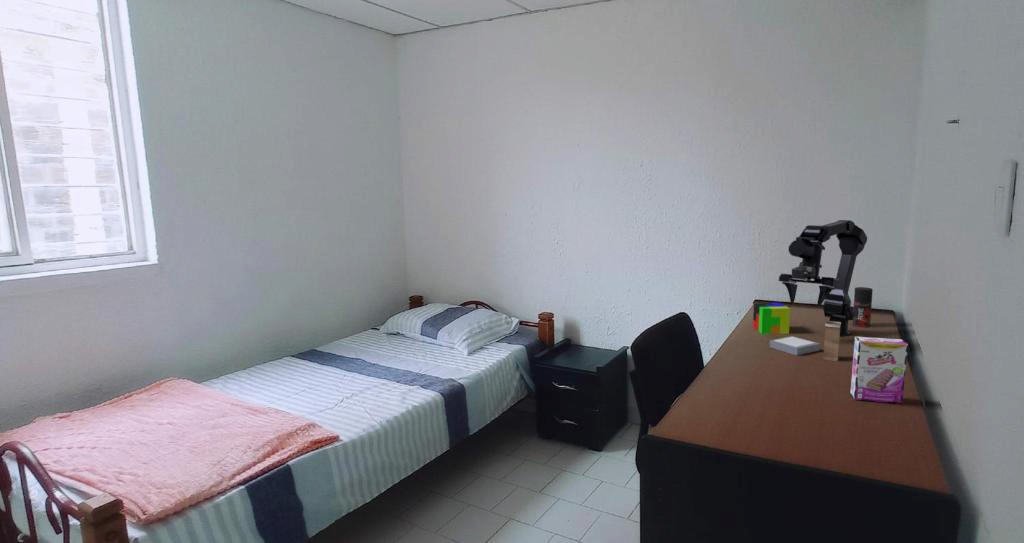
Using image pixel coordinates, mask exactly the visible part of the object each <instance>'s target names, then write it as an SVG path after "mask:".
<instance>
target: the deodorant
mask: <svg viewBox="0 0 1024 543" xmlns="http://www.w3.org/2000/svg"><path fill="white" fill-rule="evenodd" d="M853 295H854V296H853V297H854V298H853V308H852V309H853V311H854V313H855V316H854V319H853V320H852V326H853V327H855V328H856V327H857V328H862V329H863V328H865V329H866V328H870V327H871V317H872V305H873V304H872V302H873V288H871V287H866V286H865V287H864V286H860V287H859V286H858V287H854V294H853Z"/></svg>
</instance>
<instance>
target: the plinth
mask: <svg viewBox="0 0 1024 543" xmlns="http://www.w3.org/2000/svg"><path fill="white" fill-rule="evenodd" d="M820 344H821V343H819V342H815V341H812V340H808V339H803V338H800V337H797V336H793V335H791V336H786V337H781V338H776V339H770V340H769V348H770V349H774V350H777V351H780V352H781V351H782V352H784V353H788V354H791V355H794V356H800V355H806V354H809V353H814V352H815V353H816V352H818V351H820V347H821V346H820Z"/></svg>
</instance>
